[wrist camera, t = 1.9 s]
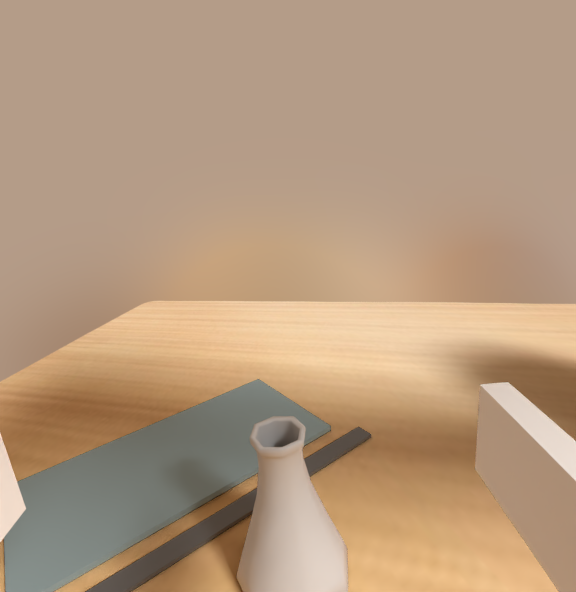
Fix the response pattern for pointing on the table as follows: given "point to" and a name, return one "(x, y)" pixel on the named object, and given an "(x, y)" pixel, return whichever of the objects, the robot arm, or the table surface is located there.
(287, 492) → the flask
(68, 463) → the mat
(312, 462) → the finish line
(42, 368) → the table surface
